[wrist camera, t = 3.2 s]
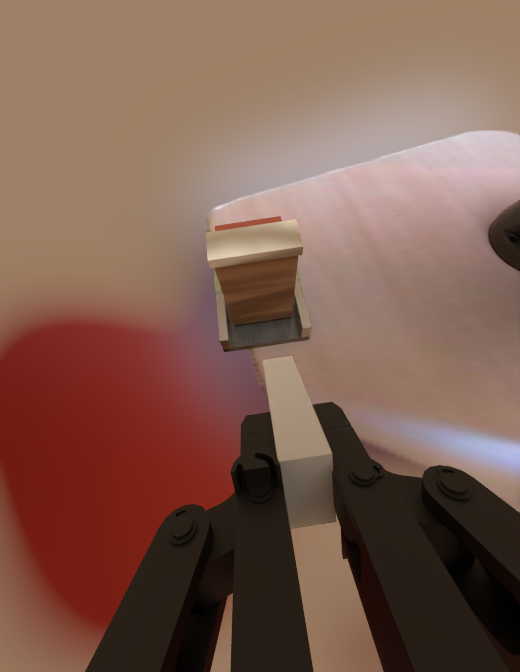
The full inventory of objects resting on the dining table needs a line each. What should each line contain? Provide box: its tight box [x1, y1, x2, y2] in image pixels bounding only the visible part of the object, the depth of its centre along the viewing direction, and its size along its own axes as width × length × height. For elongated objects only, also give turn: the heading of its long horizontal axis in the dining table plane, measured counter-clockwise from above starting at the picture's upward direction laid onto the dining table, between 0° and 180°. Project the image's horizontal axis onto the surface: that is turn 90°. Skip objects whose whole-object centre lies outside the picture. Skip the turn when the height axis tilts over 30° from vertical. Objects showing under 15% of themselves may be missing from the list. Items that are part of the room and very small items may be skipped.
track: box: [213, 216, 311, 352], centre depth 41 cm, size 19×13×7 cm
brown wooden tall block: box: [206, 219, 303, 325], centre depth 34 cm, size 4×10×15 cm, turn 98°
